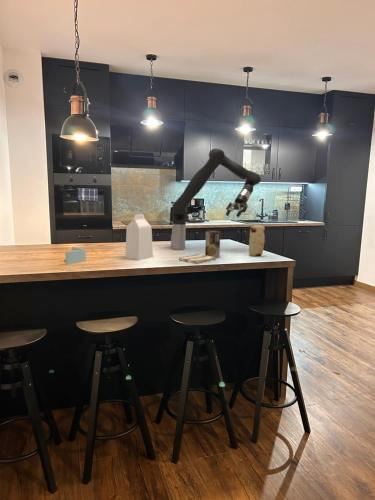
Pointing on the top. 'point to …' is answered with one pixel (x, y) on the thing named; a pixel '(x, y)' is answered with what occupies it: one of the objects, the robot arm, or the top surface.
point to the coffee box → (212, 244)
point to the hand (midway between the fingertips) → (232, 215)
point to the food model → (256, 240)
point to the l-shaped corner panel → (75, 256)
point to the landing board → (197, 258)
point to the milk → (139, 239)
